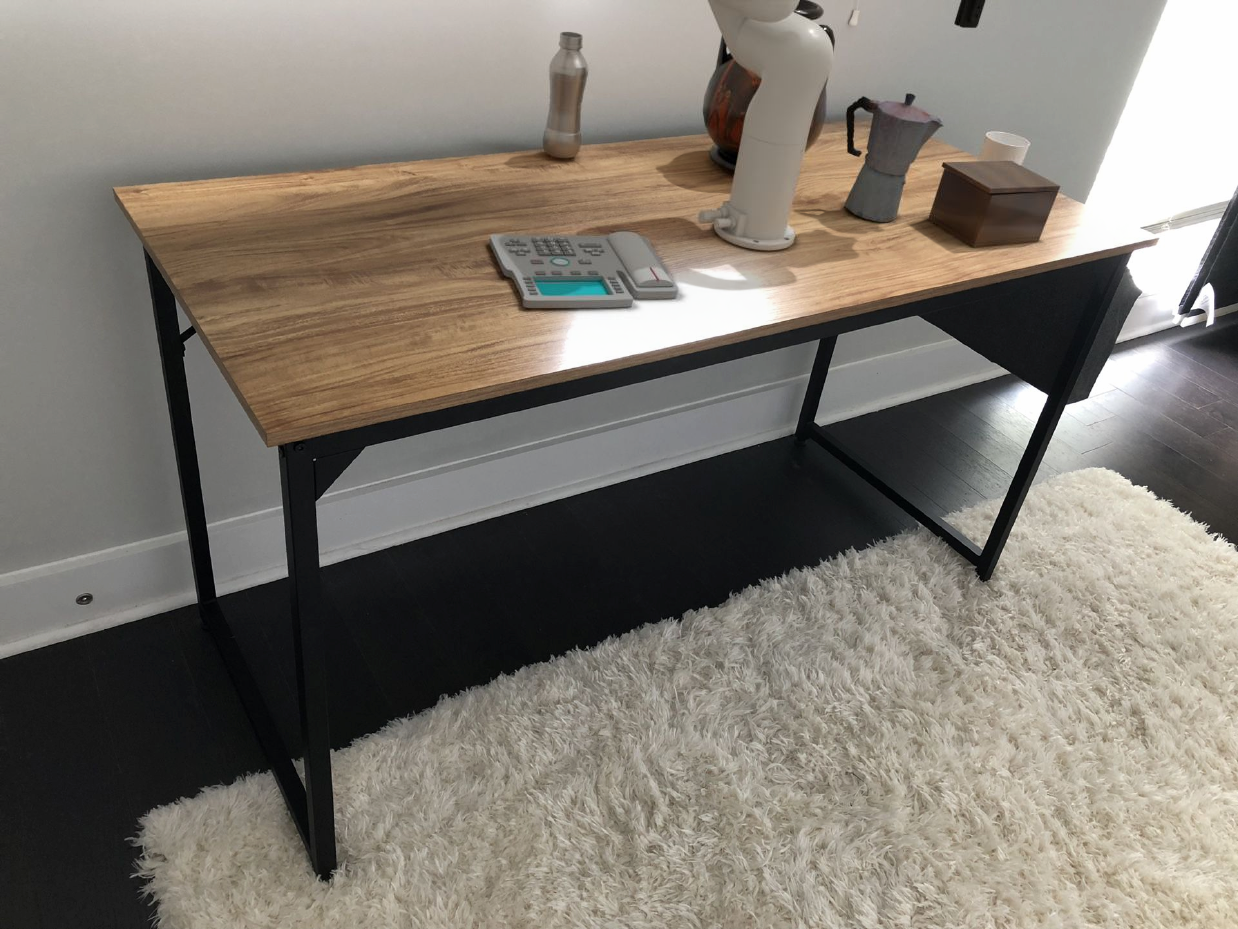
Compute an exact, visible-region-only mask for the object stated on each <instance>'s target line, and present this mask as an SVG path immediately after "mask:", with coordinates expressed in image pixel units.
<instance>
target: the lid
mask: <svg viewBox="0 0 1238 929" xmlns="http://www.w3.org/2000/svg"><path fill="white" fill-rule="evenodd" d="M941 168H943V169H946V170H948V171H950V172H952V173H954V174H955V175H957V176H959V177H961V178H962V179H964V180H966V181H968V182H970V183H971V184H973V185H975V186H977V187H978V188H980V189H982V190H984V191H986V192H987V193H1011V192H1036V191H1058V192H1059V191H1060V188H1061V185H1059V184H1057V183H1055V182H1054V181H1051V180H1049V179H1047V178H1046V177H1044V176H1042V175H1040V174H1038V173H1036V172H1035V171H1032V170H1030V169H1029V168H1026V167H1024V166H1023V165H1019V164H1017V163H1015V162H1013V161H978V160H977V161H974V160H973V161H943V162H942V164H941Z"/></svg>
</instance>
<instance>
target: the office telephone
mask: <svg viewBox="0 0 1238 929" xmlns="http://www.w3.org/2000/svg"><path fill="white" fill-rule="evenodd" d="M489 245H490V248H491V251H492V252H493V254H494V256H495V259H496V261H497V263H498V265H499V267H500V270H501V271H502V273H503V275H504V276H505V277H507V278H510V279H512V281H513V282H514V284H515V286H516V288H517V290H518V293H519V295H520V298H521V299H522V307H524V308H527V309H574V308H575V309H583V308H584V309H585V308H587V309H589V308H625V307H626V308H627V307H632V306H633V302H634V298H635V299H640V300H641V299H643V300H644V299H645V300H646V299H649V300H651V299H654V300H657V299H660V300H661V299H662V300H663V299H676V298H677V296H678V291H679V287H678V286H677V284H676V282H675V280H674V278H673V277H672V275H671V274H670V272H669V271H668V268H667V267H666V264H664V262H663V261H662V259H661V257H660V256H659V254H658V253H657V252H656V250H655V248H654V246H652V244H651V243H650V241H649V239H648V237H647V236H643V235H639V234H638V233H636V232H632V231H616V232H613V233H610V234H609V235H550V234H549V235H547V234H545V235H544V234H543V235H542V234H541V235H540V234H539V235H538V234H537V235H535V234H533V235H532V234H490V235H489ZM627 288H628V289H627ZM629 291H630V292H629Z"/></svg>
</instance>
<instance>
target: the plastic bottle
mask: <svg viewBox="0 0 1238 929" xmlns="http://www.w3.org/2000/svg"><path fill="white" fill-rule="evenodd" d="M583 41H584V40H583V35H582V34H581V33H579V32H573V31H562V32H560V34H559V41H558V46H559V49H558V50H557V52H556V53H555V54H554V56H553V57H552V59H551V60H550V63H549V65H548V66H549V67H548V72H549V74H548V77H549V105H548V113H547V118H546V125H545V128H544V131H543V137H542V147H543V150H544V152H545V154H546V155H549V156H551V157H554V158H558V159H571V158H574V157H576V156H577V155H578V154H579V152H580V150H581V146H582V130H581V120H582V119H581V117H582V114H581V112H582V104H583V99H584V93H585V88H586V86H587V85H586V84H587V80H588V76H589V64H588V62H587V60H586V57H585V56H584V54H583V53H582V51H581V50H582V49H583V47H584V45H583Z"/></svg>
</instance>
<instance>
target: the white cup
mask: <svg viewBox="0 0 1238 929" xmlns="http://www.w3.org/2000/svg"><path fill="white" fill-rule="evenodd" d="M1030 145H1031V142H1030V141H1029V140H1028V139H1026V138H1024V137H1022V136H1020V135H1017V134H1014V133H1009V132H1004V131H988V132H985V136H984V139H983V143H982V146H981V150H980V152H979V157H978V159H977V161H1013V162H1015V163H1017V164H1019V165H1021V166H1023V163H1024V161H1025V158H1026V155H1027V152H1028V151H1029V148H1030Z"/></svg>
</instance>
